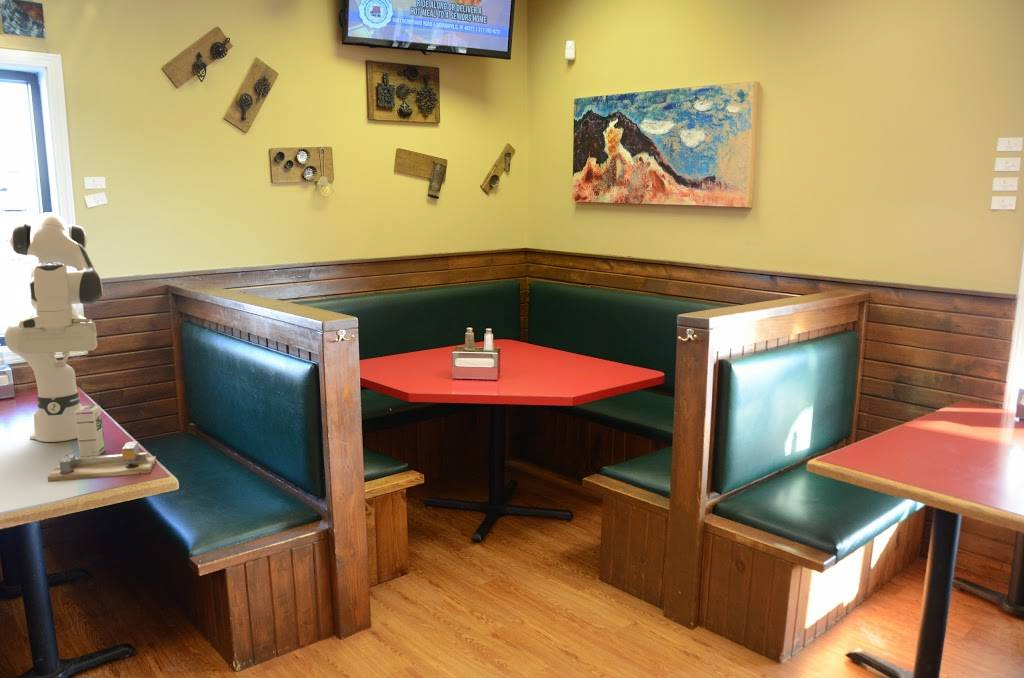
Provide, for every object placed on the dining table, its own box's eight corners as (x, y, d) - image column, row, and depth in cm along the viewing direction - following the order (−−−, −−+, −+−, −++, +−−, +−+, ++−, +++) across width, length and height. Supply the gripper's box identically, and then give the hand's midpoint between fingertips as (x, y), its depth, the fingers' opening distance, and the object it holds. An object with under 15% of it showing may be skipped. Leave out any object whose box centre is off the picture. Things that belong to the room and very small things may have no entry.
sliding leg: (128, 460, 239) (126, 442, 238) (139, 459, 240) (138, 441, 239) (123, 468, 232) (121, 449, 231) (135, 467, 233) (133, 448, 232)
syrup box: (99, 456, 248) (95, 409, 246) (78, 457, 247) (73, 410, 245) (105, 450, 254) (101, 404, 251) (85, 451, 253) (80, 405, 250)
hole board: (59, 467, 238) (59, 463, 237) (156, 459, 244) (155, 456, 244) (47, 481, 226) (47, 477, 226) (149, 472, 233) (148, 468, 232)
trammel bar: (65, 465, 236) (64, 454, 235) (147, 458, 241) (146, 447, 241) (57, 474, 228) (56, 462, 228) (142, 467, 234) (141, 456, 233)
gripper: (97, 316, 239) (102, 362, 242) (19, 319, 234) (24, 367, 236) (92, 319, 233) (97, 367, 235) (12, 322, 228) (17, 371, 230)
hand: (60, 367), depth 236 cm, fingers closed
